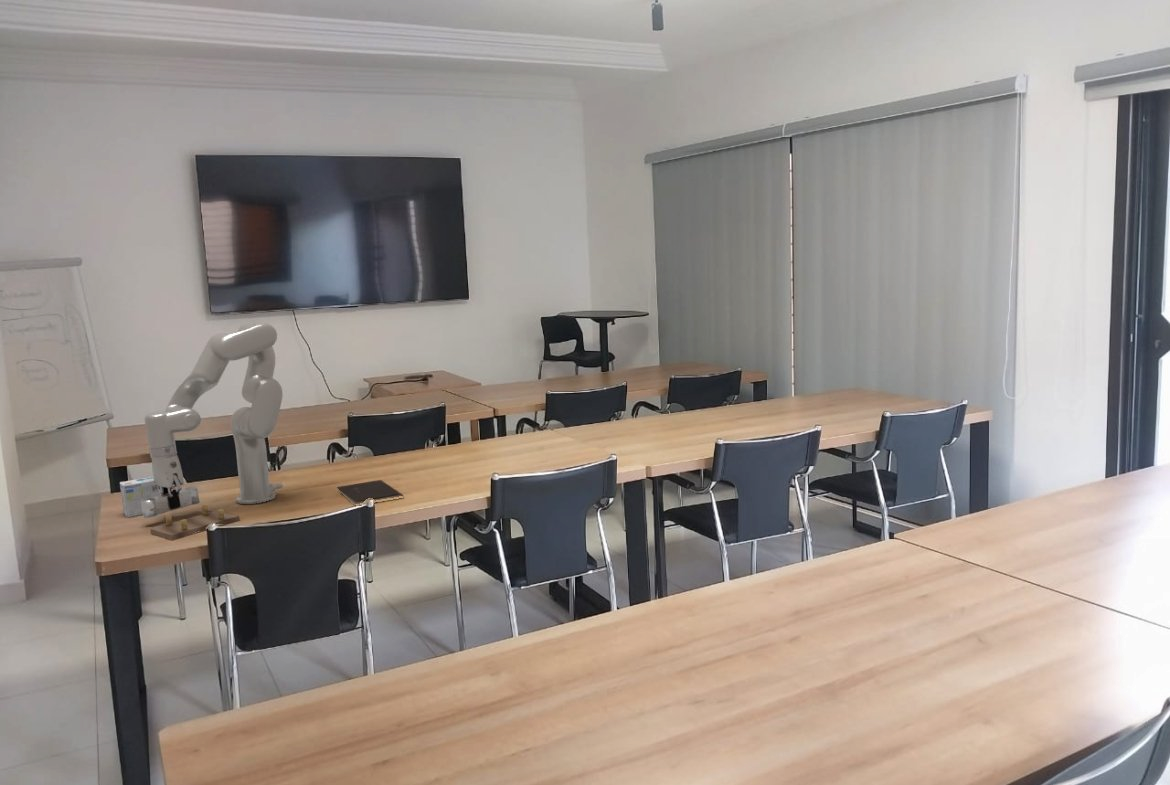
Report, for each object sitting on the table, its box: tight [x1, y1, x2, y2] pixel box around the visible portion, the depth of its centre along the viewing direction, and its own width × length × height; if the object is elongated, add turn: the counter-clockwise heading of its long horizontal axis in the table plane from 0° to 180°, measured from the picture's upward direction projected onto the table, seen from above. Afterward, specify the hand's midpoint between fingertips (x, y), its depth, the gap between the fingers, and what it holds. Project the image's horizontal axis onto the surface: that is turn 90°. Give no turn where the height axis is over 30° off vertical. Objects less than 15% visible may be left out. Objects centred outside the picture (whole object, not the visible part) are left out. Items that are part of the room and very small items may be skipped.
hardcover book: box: [336, 479, 404, 505], centre depth 299 cm, size 16×23×2 cm
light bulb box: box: [119, 475, 161, 518], centre depth 288 cm, size 11×7×11 cm, turn 129°
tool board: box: [150, 504, 241, 541], centre depth 270 cm, size 22×12×4 cm, turn 144°
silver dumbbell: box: [141, 485, 200, 519], centre depth 279 cm, size 18×4×5 cm, turn 144°
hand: (172, 506), depth 279 cm, fingers closed on silver dumbbell, 3 cm apart
